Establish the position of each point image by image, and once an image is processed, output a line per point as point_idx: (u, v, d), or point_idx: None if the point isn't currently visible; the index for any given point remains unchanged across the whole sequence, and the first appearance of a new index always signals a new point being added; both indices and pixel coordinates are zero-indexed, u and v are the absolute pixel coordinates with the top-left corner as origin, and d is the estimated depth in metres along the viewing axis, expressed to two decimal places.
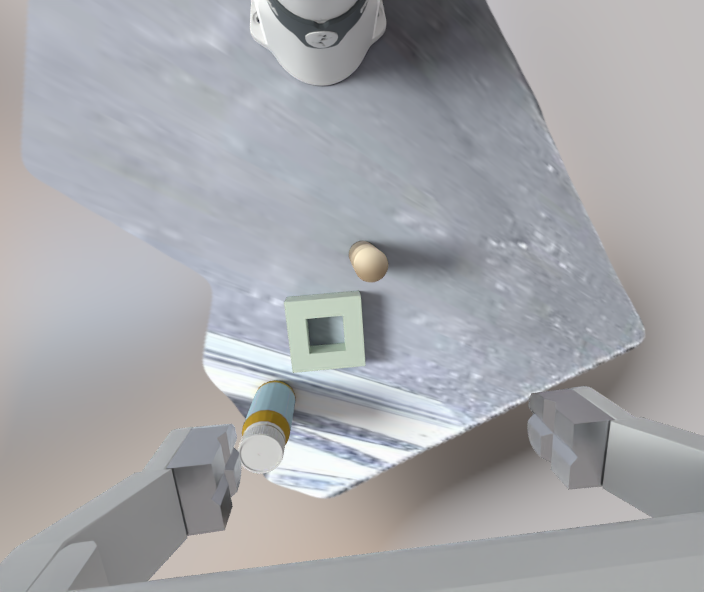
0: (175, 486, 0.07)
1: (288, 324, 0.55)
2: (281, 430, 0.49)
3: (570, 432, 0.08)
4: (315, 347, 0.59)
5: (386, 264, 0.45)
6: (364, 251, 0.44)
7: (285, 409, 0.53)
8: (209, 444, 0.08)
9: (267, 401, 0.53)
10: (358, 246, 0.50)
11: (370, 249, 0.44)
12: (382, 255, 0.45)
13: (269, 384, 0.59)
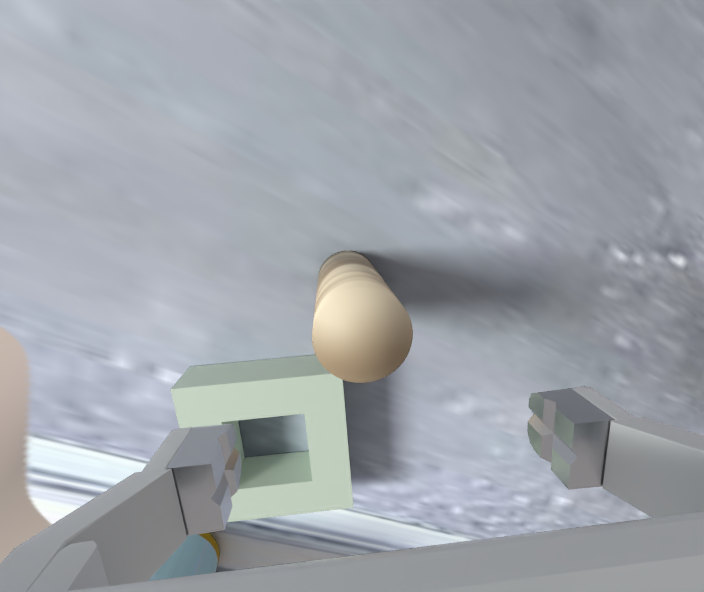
0: (175, 486, 0.07)
1: None
2: None
3: (570, 432, 0.08)
4: (253, 464, 0.29)
5: (407, 333, 0.15)
6: (341, 296, 0.15)
7: None
8: (209, 444, 0.08)
9: None
10: (333, 269, 0.20)
11: (360, 290, 0.15)
12: (396, 308, 0.15)
13: None
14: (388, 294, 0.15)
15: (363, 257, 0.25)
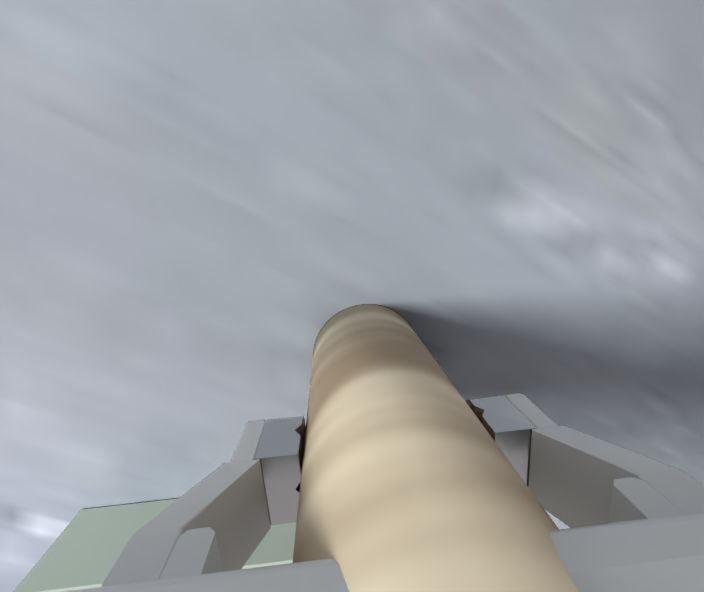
0: (262, 476, 0.07)
1: None
2: None
3: None
4: None
5: None
6: None
7: None
8: (289, 435, 0.08)
9: None
10: (346, 381, 0.08)
11: None
12: None
13: None
14: None
15: (400, 321, 0.13)
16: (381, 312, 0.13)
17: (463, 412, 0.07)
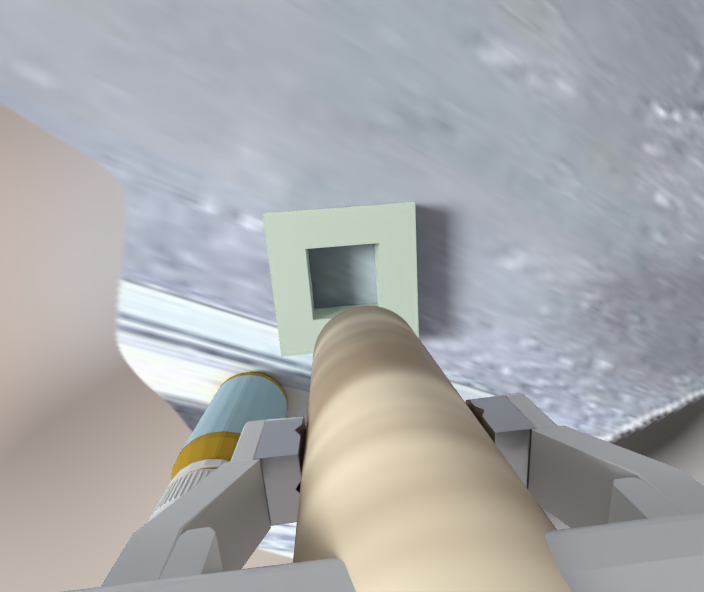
0: (262, 476, 0.07)
1: (272, 259, 0.28)
2: None
3: (493, 441, 0.08)
4: (324, 310, 0.32)
5: None
6: None
7: None
8: (289, 435, 0.08)
9: (229, 412, 0.27)
10: (346, 384, 0.08)
11: None
12: None
13: (239, 379, 0.32)
14: None
15: (400, 322, 0.13)
16: (381, 313, 0.13)
17: (464, 415, 0.07)
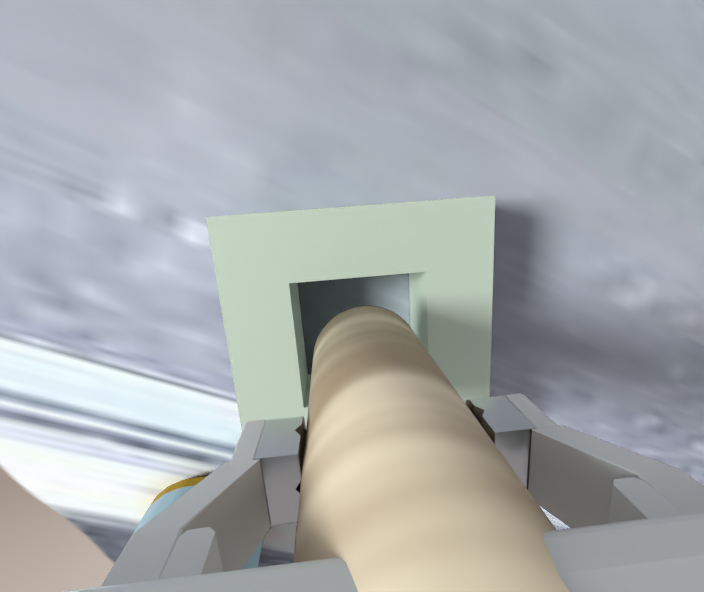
0: (262, 476, 0.07)
1: (226, 303, 0.15)
2: None
3: (493, 441, 0.08)
4: None
5: None
6: None
7: None
8: (289, 435, 0.08)
9: None
10: (346, 384, 0.08)
11: None
12: None
13: (180, 496, 0.19)
14: None
15: (400, 323, 0.13)
16: (381, 314, 0.13)
17: (464, 416, 0.07)
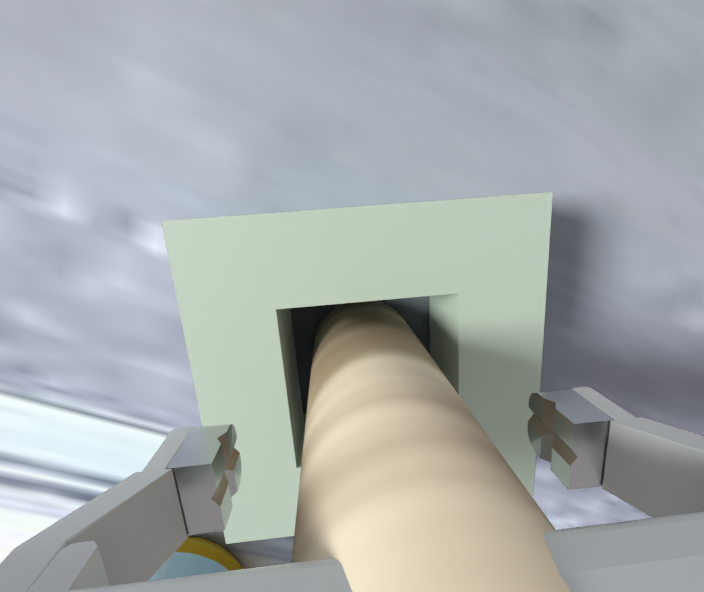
0: (175, 486, 0.07)
1: (192, 336, 0.11)
2: None
3: (570, 432, 0.08)
4: None
5: None
6: None
7: None
8: (209, 444, 0.08)
9: None
10: (343, 365, 0.09)
11: None
12: None
13: None
14: None
15: (394, 314, 0.14)
16: (377, 306, 0.14)
17: (445, 389, 0.08)
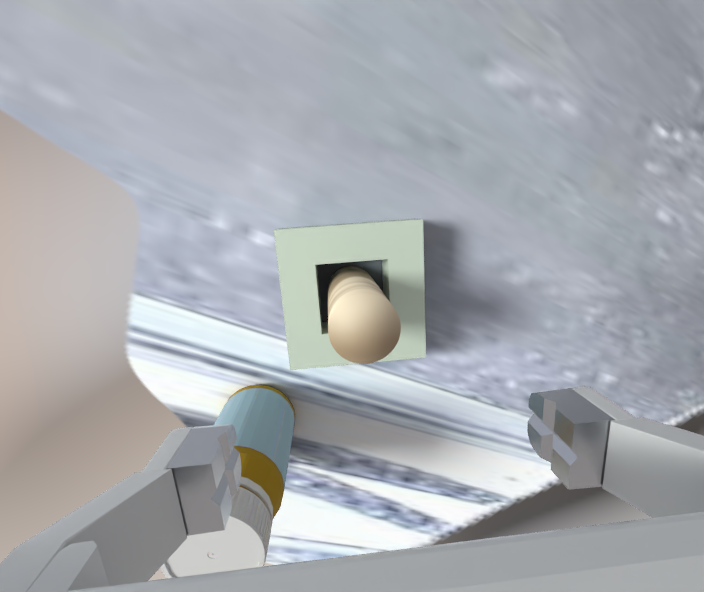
0: (175, 486, 0.07)
1: (282, 275, 0.28)
2: (263, 493, 0.23)
3: (570, 432, 0.08)
4: None
5: (397, 327, 0.21)
6: (349, 300, 0.20)
7: (275, 443, 0.27)
8: (209, 444, 0.08)
9: (239, 426, 0.27)
10: (341, 280, 0.26)
11: (362, 295, 0.20)
12: (388, 308, 0.21)
13: (247, 392, 0.32)
14: (383, 298, 0.21)
15: (364, 271, 0.31)
16: (357, 267, 0.31)
17: (374, 284, 0.25)
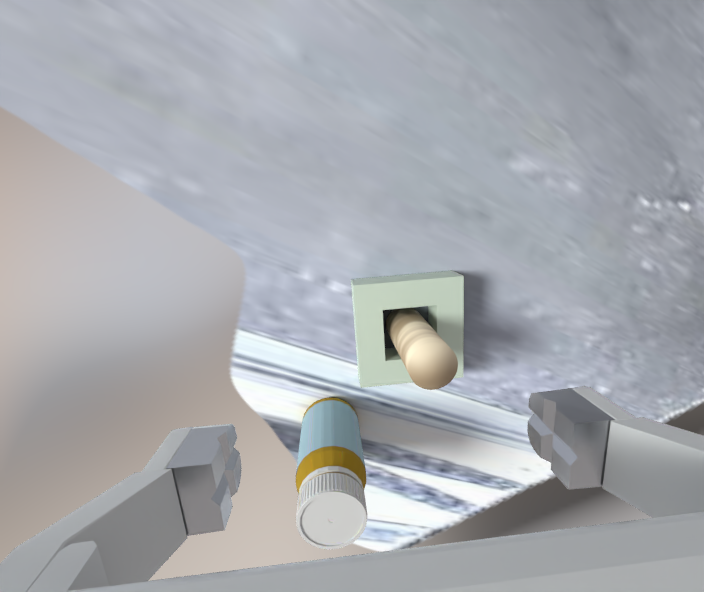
0: (175, 486, 0.07)
1: (358, 318, 0.38)
2: (358, 478, 0.32)
3: (570, 432, 0.08)
4: (389, 351, 0.42)
5: (455, 364, 0.30)
6: (424, 347, 0.30)
7: (356, 443, 0.36)
8: (209, 444, 0.08)
9: (329, 431, 0.36)
10: (405, 324, 0.36)
11: (432, 344, 0.30)
12: (450, 352, 0.30)
13: (324, 403, 0.42)
14: (446, 345, 0.30)
15: (416, 311, 0.40)
16: (410, 308, 0.40)
17: (431, 328, 0.34)
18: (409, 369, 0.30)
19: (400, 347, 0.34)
